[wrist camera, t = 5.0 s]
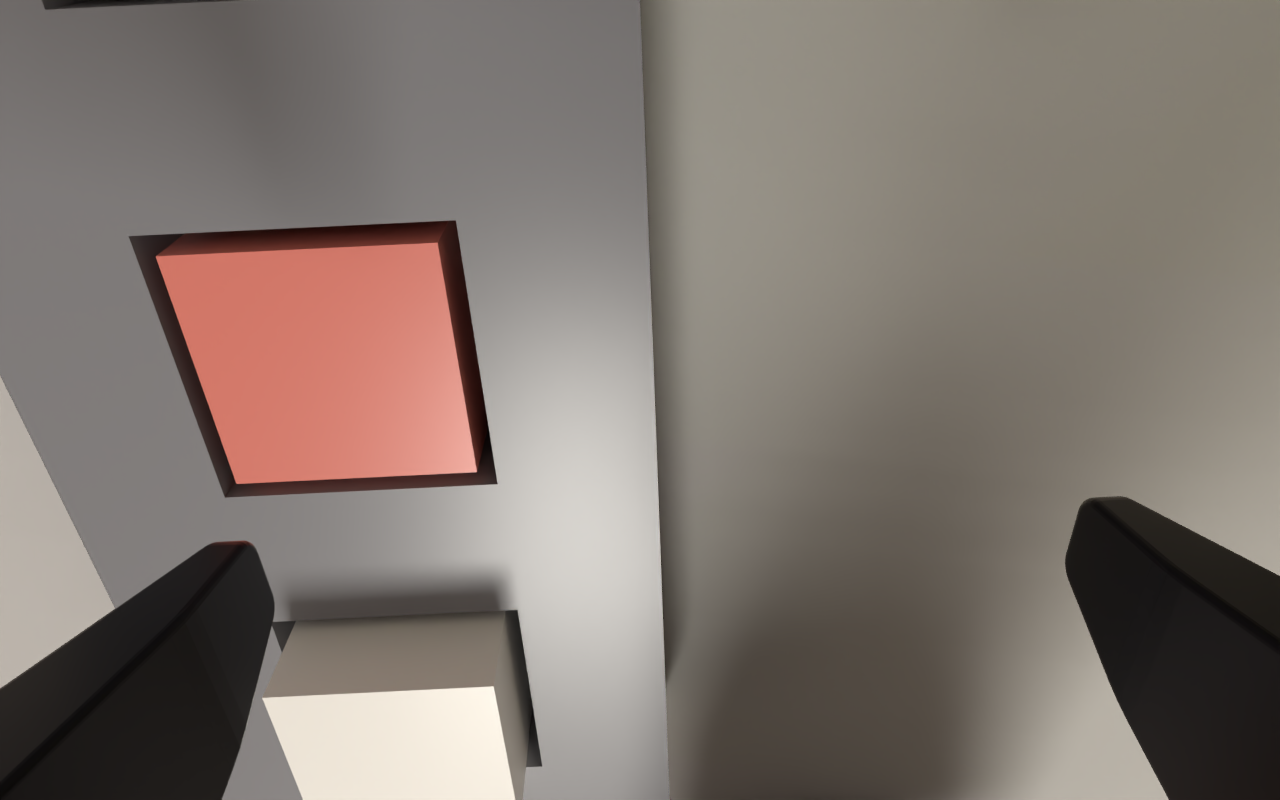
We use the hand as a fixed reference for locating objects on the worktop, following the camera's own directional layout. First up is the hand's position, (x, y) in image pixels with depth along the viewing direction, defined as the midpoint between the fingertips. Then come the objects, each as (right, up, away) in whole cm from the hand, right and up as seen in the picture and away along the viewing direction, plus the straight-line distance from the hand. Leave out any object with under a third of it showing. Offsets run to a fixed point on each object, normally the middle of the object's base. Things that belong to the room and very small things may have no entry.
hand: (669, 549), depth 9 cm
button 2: (-5, -4, +9) cm, 11 cm away
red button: (-5, +4, +6) cm, 9 cm away
